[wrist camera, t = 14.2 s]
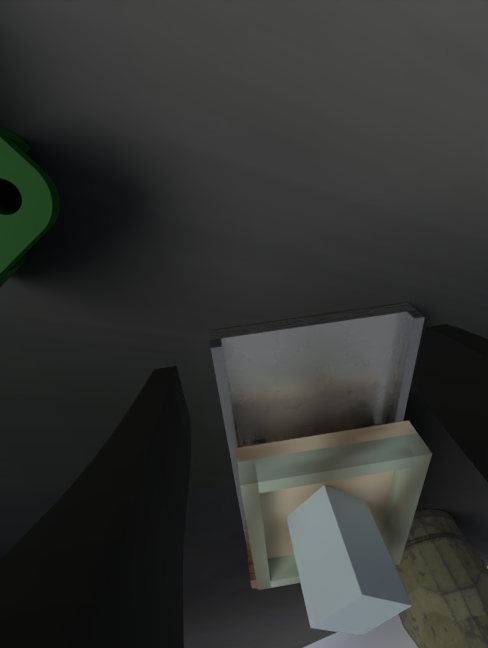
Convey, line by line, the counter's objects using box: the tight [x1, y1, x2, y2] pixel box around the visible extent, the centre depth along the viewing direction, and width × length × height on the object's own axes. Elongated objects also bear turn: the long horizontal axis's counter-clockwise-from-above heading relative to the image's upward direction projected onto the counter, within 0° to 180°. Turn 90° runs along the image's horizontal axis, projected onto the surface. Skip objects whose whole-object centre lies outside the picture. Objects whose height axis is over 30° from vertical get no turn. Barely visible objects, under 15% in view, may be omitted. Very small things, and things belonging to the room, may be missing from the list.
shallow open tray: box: [236, 421, 432, 590], centre depth 24 cm, size 11×13×4 cm
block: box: [286, 485, 412, 635], centre depth 21 cm, size 4×4×6 cm
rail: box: [210, 303, 425, 589], centre depth 24 cm, size 12×22×4 cm, turn 6°
